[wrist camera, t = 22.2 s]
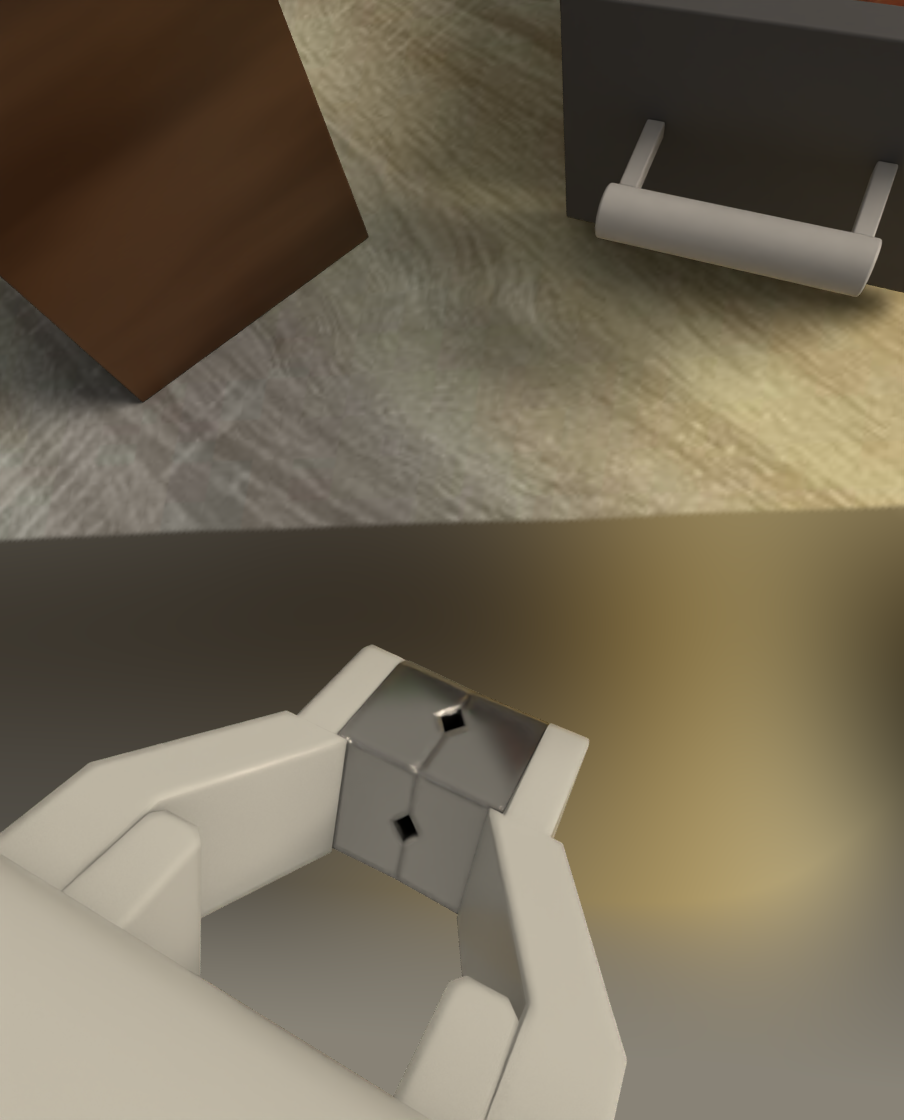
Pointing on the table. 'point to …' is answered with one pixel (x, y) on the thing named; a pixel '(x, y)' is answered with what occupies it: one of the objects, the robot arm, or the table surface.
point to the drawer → (741, 133)
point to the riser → (162, 175)
